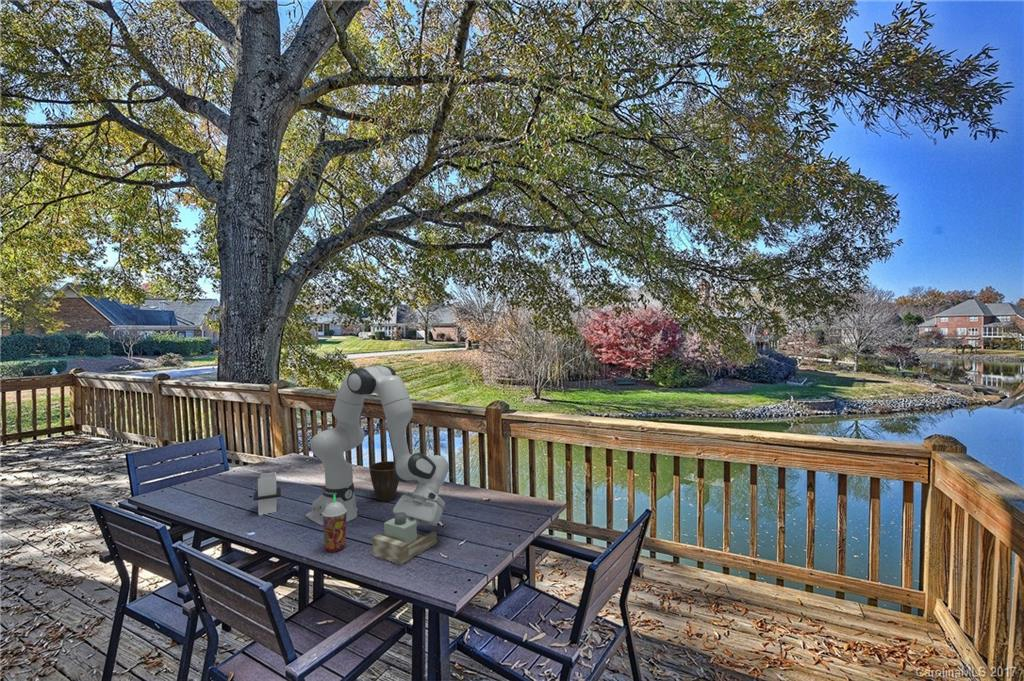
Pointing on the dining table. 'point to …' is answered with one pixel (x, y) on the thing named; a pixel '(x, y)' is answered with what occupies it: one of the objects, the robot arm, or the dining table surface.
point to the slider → (401, 529)
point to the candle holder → (267, 493)
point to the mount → (401, 547)
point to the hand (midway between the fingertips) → (407, 531)
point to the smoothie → (334, 526)
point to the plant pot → (384, 480)
